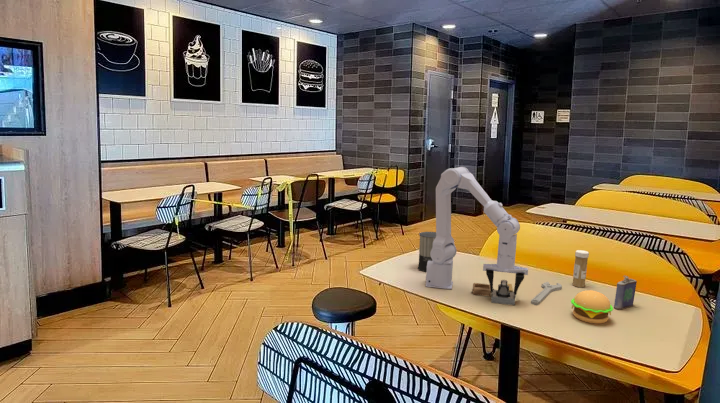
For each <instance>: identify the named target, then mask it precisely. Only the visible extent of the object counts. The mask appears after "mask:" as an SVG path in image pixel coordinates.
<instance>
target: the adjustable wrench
mask: <svg viewBox="0 0 720 403" xmlns="http://www.w3.org/2000/svg"><path fill="white" fill-rule="evenodd" d="M540 287H541V288H542V290H541V291H540V292H539V293H537V294H536V295H535V296H534V297H533V298H531V299H530V304H531V305H534V306H538V305H540V304H542V302H543V301H544V300H545V299H546V298H547V297H548V296H549V295H550V294H551V293H552V292H556V291H562V289H563V285H562V284H561V283H559V282H556V284H551V283H550V281H544V282H543V283H541V286H540Z"/></svg>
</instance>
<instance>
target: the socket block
mask: <svg viewBox="0 0 720 403" xmlns="http://www.w3.org/2000/svg"><path fill="white" fill-rule="evenodd" d="M497 295H498V289H493V292H491V296H490V303H491V304H502V305H507V306H515V304H516V297H517V294H516V295H514V290H513V292H509V296H508V297H503V296H497Z"/></svg>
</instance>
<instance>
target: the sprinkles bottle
mask: <svg viewBox="0 0 720 403" xmlns="http://www.w3.org/2000/svg"><path fill="white" fill-rule="evenodd" d="M589 254H590V253H589V251H587V250H583V249H582V250H581V249H577V250H575V255H574V256H575V259H574V264H573V265H574V266H573V275H572V277H573V278H572V284H571V285H572V286H574V287H577V288H585V287H586V277H587V269H588V259H589Z"/></svg>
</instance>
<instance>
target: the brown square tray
mask: <svg viewBox="0 0 720 403" xmlns="http://www.w3.org/2000/svg"><path fill="white" fill-rule="evenodd" d="M472 294H473V296H474V295H476V296H482V297H483V296H485V297H491V288H490V283H489V284H487V283H480V282H479V283H477V282H473V283H472Z"/></svg>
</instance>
